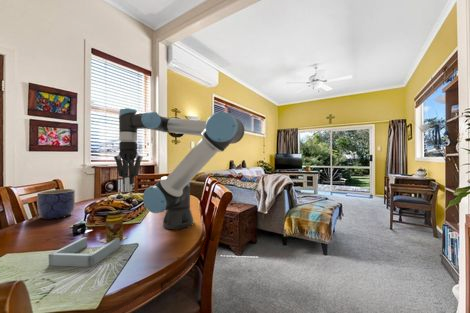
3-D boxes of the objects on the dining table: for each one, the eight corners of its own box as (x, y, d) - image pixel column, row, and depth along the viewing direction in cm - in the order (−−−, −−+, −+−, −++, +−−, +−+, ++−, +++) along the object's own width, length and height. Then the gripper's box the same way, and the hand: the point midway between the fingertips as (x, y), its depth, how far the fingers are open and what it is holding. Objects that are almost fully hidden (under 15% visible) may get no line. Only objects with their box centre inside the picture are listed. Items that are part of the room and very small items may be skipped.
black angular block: (70, 240, 87) (70, 229, 87) (58, 238, 89) (58, 227, 89) (97, 229, 99) (97, 220, 99) (86, 228, 101) (86, 219, 101)
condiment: (112, 244, 81) (112, 214, 81) (98, 241, 85) (98, 212, 85) (128, 237, 88) (128, 209, 88) (114, 235, 91) (114, 208, 91)
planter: (37, 216, 120) (37, 191, 120) (73, 211, 132) (73, 188, 132) (37, 223, 108) (36, 194, 108) (76, 216, 119) (76, 191, 119)
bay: (119, 247, 79) (119, 238, 79) (91, 266, 65) (91, 255, 65) (84, 246, 80) (84, 237, 80) (48, 265, 66) (48, 254, 66)
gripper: (146, 142, 101) (146, 190, 101) (119, 142, 102) (119, 189, 102) (138, 140, 93) (138, 192, 93) (109, 141, 94) (109, 192, 94)
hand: (128, 191), depth 97 cm, fingers closed
